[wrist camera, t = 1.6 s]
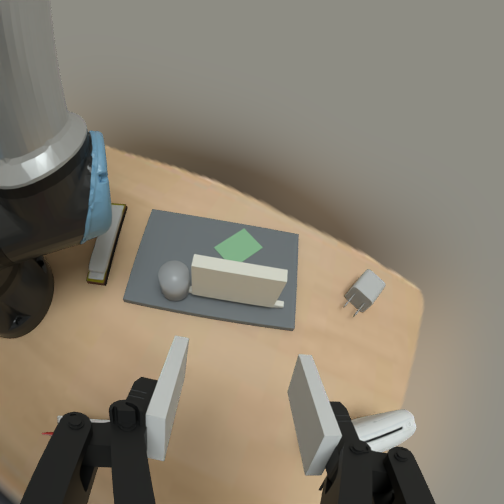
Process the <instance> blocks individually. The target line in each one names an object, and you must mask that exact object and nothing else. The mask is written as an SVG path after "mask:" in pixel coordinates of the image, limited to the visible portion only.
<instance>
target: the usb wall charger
mask: <svg viewBox="0 0 504 504" xmlns="http://www.w3.org/2000/svg"><path fill="white" fill-rule="evenodd" d="M384 287H385V283H384V281H382V280H381V279H380V278H379V277H378V276H377V275H376V274H375V273H374V272H372V271H371V270H369V269H367V270H366V271H365V272H364V273H363V274H362V275H361V276H360V277H359V279H358V280H357V281H356V282H355V283H354V285H353V286H352V287H351V288H350V290H349V291H348V292H347V293H346V294H345V298H346V299H347V300H348V302H350V303H351V304H353V305H354V306H355V307H356V308H357V309H358V310H357V312H356V313H355V314H354V316H355V315H356V314H357V313H358V312H359V311H361V312H364V311H365V310H367V309H368V308H369V307H370V306H371V305H372V304H373V303H374V301H375V300H376V299H377V297H378V296H379V294H380V293H381V292H382V290H383V289H384ZM348 302H347V303H346V304H345V305H344V307H345V306H346V305H347V304H348ZM344 307H343V308H344ZM354 316H353V317H354Z"/></svg>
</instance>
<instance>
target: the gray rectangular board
mask: <svg viewBox="0 0 504 504" xmlns="http://www.w3.org/2000/svg"><path fill="white" fill-rule="evenodd" d="M298 235H299V234H294V233H289V232H283V231H278V230H272V229H267V228H261V227H256V226H250V225H244V224H239V223H233V222H227V221H221V220H215V219H210V218H204V217H198V216H192V215H186V214H179V213H173V212H167V211H161V210H155V209H152V212H151V214H150V217H149V220H148V223H147V226H146V228H145V231H144V234H143V237H142V240H141V243H140V246H139V249H138V252H137V255H136V258H135V261H134V264H133V268H132V271H131V274H130V277H129V281H128V284H127V287H126V291H125V294H124V298H123V300H124V302H127V303H132V304H137V305H141V306H146V307H151V308H156V309H161V310H166V311H171V312H176V313H182V314H187V315H193V316H198V317H204V318H210V319H216V320H222V321H228V322H234V323H240V324H247V325H253V326H260V327H267V328H274V329H282V330H289V331H293V330H294V329H295V311H296V290H297V266H298ZM194 254H197V255H203V256H209V257H214V258H220V259H226V260H232V261H238V262H244V263H249V264H255V265H261V266H267V267H273V268H279V269H285V270H288V274H287V283H286V285H285V287H284V288H283V290H282V292H281V294H280V296H279V297H278V299H277V300H279V301H284V307H283V308H278V307H273V308H271V307H265V306H258V305H252V304H246V303H239V302H233V301H227V300H221V299H215V298H210V297H204V296H198V295H193V294H192V293H189V294H188V295H187V296H186V297H185V298H184V299H182V300H180V301H171V300H168V299H167V298H166V297H164V295H163V294H162V291H161V286H160V282H159V278H158V272H159V269H160V268H161V266H162V265H163V264H165V263H166V262H169V261H180V262H182V263H184V264H185V265H186V266H187V268H188V270H189V277H190V286H192V273H191V265H192V261H193V257H194Z"/></svg>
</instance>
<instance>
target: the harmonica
mask: <svg viewBox="0 0 504 504" xmlns="http://www.w3.org/2000/svg"><path fill="white" fill-rule="evenodd" d="M111 207H112V224H111V226H110V228H109V230H108V231H107V232H106V233H104V234H103V235H100V236H98V237H97V240H96V243H95V246H94V249H93V253H92V256H91V259H90V263H89V272H88V276H87V280H86V281H87V282H88V283H90V284H97V285H105V286H106V284H107V280H108V276H109V272H110V268H111V264H112V260H113V256H114V252H115V249H116V245H117V241H118V238H119V234H120V231H121V227H122V224H123V221H124V217H125V214H126V211H127V206H126V204H114V203H111Z"/></svg>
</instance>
